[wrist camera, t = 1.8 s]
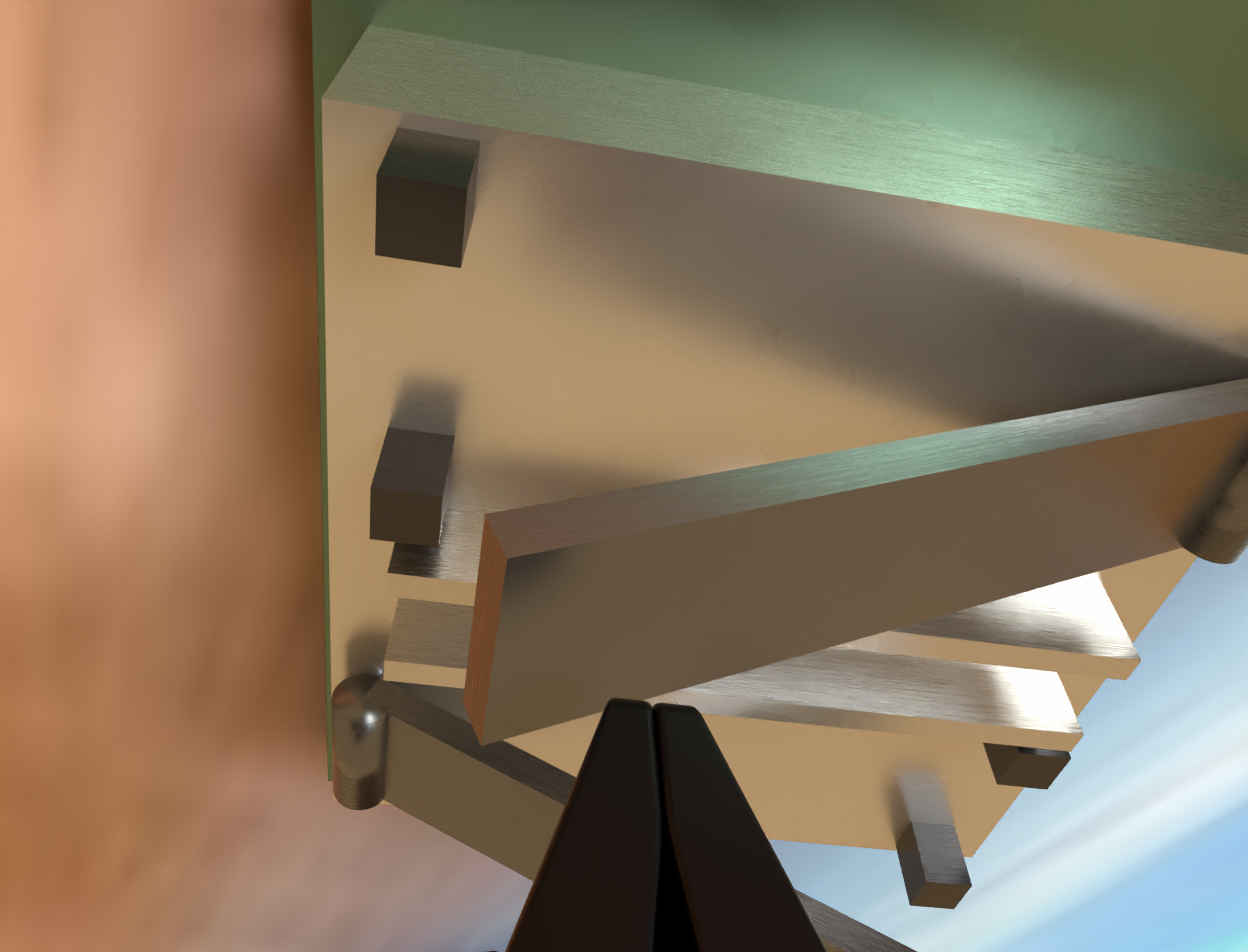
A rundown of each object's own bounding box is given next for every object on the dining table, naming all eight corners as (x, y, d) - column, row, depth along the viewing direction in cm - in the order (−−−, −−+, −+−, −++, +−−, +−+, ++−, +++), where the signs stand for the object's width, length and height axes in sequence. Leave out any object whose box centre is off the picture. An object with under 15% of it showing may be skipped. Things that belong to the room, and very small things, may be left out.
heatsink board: (1469, -96, 14) (1842, 17, 10) (904, 802, 29) (956, 1007, 24) (323, -347, 12) (167, -347, 8) (336, 747, 27) (282, 958, 22)
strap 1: (1299, 368, 15) (1367, 413, 14) (1198, 510, 16) (1253, 556, 16) (484, 514, 9) (527, 599, 8) (463, 702, 11) (497, 785, 10)
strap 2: (355, 752, 20) (321, 793, 20) (355, 664, 19) (318, 705, 18) (949, 1070, 18) (938, 1133, 17) (1015, 1001, 16) (1006, 1068, 15)
